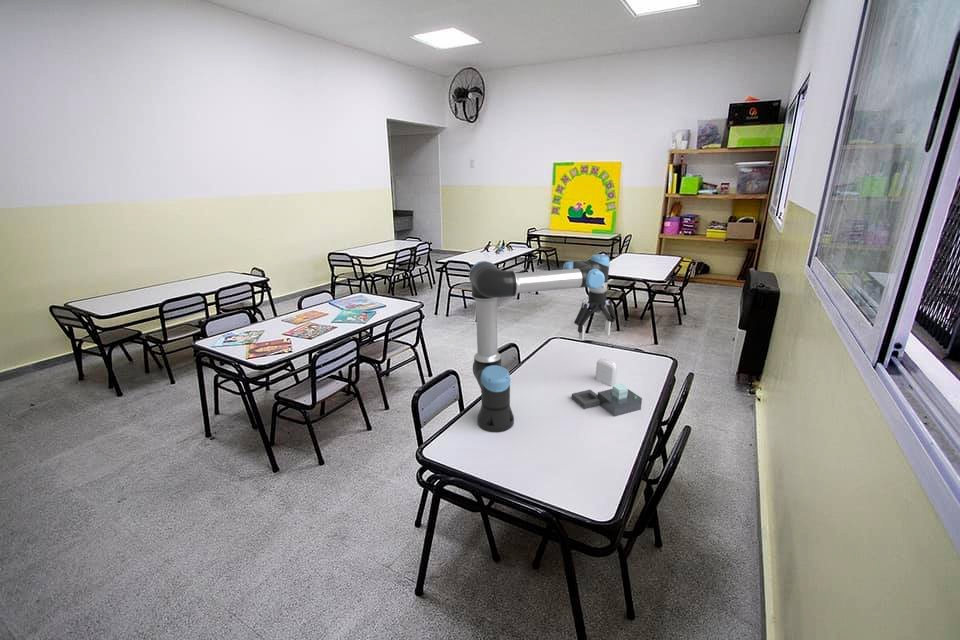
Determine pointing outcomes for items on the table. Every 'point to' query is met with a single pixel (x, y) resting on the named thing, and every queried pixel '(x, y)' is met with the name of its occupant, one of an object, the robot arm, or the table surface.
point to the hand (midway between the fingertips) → (594, 336)
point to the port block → (619, 403)
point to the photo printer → (606, 372)
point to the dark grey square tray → (586, 399)
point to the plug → (619, 391)
